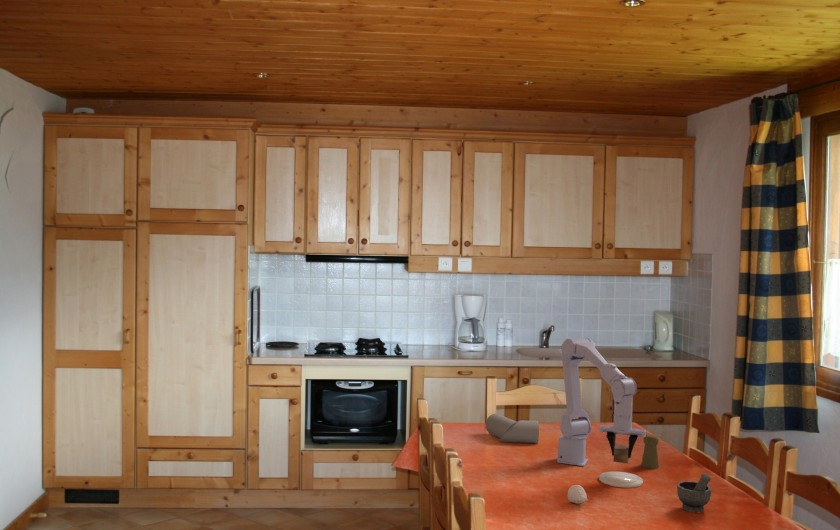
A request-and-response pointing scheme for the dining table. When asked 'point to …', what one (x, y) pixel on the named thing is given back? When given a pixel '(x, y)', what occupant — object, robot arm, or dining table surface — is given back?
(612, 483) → the plate
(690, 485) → the mortar and pestle
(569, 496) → the garlic bulb
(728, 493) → the dining table surface
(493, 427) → the bent grey cylinder
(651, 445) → the pepper mill
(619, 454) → the walnut cube
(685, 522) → the dining table surface
